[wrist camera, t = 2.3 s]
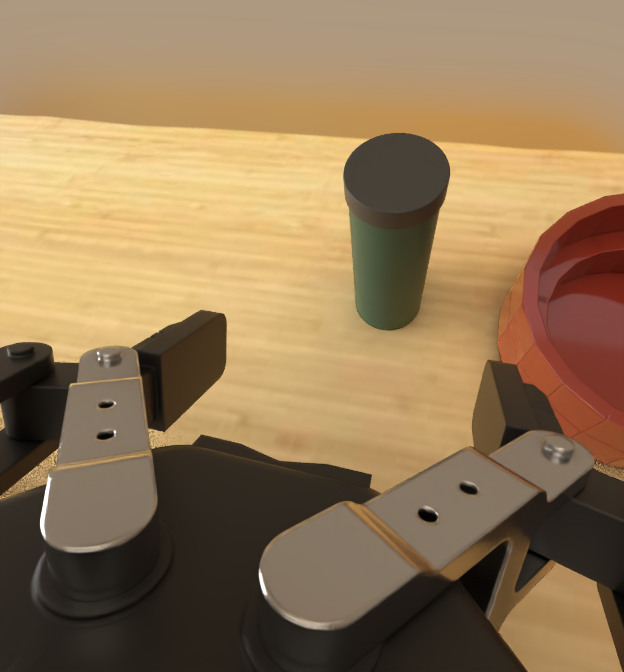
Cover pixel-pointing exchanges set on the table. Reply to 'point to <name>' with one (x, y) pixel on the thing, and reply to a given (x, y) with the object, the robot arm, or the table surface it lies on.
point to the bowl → (574, 324)
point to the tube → (393, 223)
